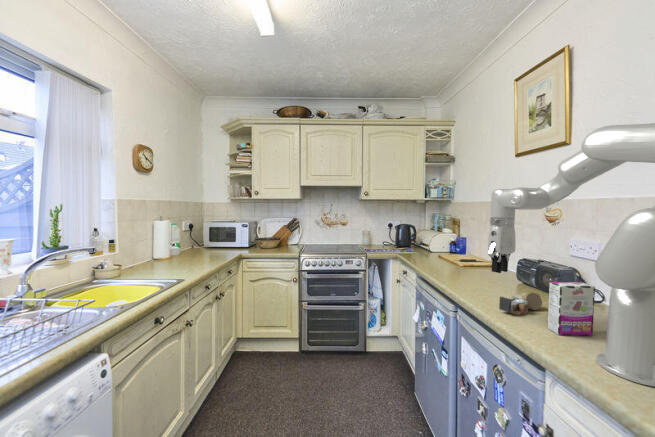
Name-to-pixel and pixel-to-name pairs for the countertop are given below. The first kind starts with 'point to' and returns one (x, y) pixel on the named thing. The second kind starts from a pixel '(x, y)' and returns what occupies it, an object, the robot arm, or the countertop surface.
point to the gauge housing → (520, 309)
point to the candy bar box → (571, 308)
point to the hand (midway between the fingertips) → (499, 271)
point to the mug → (531, 300)
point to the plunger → (510, 303)
